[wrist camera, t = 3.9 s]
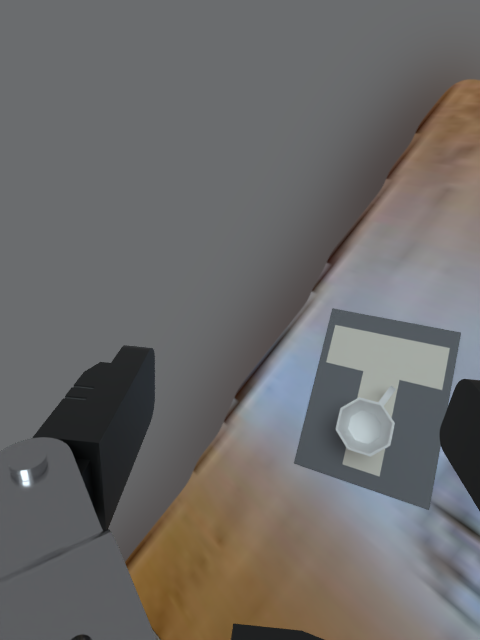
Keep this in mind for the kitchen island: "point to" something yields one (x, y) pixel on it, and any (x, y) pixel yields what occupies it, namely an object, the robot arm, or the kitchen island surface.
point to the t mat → (371, 383)
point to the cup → (366, 425)
